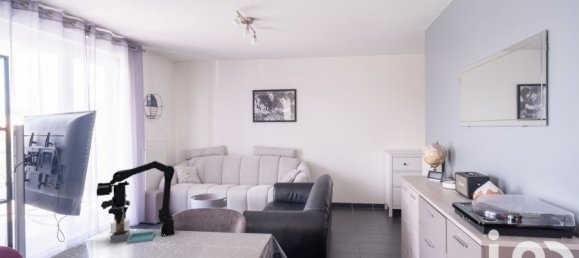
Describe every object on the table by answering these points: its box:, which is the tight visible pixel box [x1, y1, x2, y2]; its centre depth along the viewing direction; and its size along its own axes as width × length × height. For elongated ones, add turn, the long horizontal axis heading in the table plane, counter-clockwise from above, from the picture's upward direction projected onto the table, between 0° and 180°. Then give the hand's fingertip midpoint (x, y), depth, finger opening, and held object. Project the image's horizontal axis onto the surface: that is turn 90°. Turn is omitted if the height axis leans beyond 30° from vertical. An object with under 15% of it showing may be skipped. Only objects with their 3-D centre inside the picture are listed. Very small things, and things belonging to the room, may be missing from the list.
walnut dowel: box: [116, 214, 124, 234], centre depth 156 cm, size 4×4×10 cm
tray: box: [126, 231, 156, 245], centre depth 157 cm, size 12×12×2 cm
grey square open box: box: [110, 229, 131, 244], centre depth 156 cm, size 8×8×4 cm
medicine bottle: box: [110, 213, 130, 234], centre depth 171 cm, size 7×7×12 cm
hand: (120, 222), depth 156 cm, fingers closed on walnut dowel, 4 cm apart
